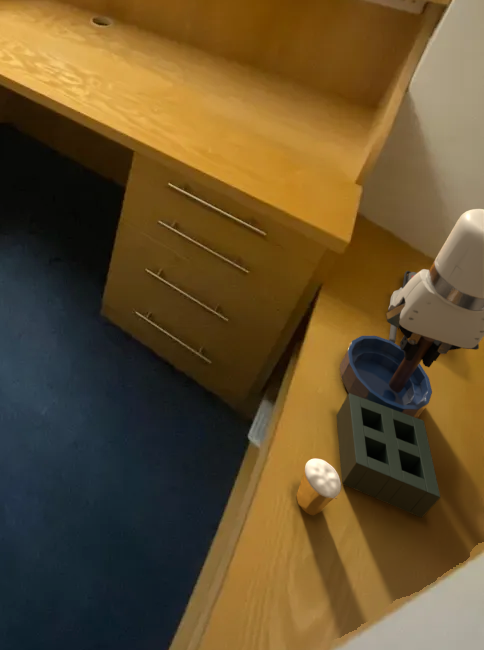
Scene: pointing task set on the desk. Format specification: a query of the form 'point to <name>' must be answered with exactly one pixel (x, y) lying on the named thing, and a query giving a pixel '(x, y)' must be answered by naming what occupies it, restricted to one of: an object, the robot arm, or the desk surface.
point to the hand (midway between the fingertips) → (415, 354)
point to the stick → (409, 365)
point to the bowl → (383, 375)
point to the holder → (386, 455)
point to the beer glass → (317, 486)
